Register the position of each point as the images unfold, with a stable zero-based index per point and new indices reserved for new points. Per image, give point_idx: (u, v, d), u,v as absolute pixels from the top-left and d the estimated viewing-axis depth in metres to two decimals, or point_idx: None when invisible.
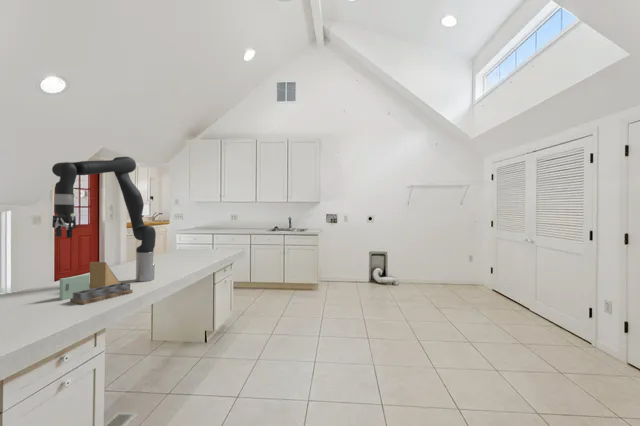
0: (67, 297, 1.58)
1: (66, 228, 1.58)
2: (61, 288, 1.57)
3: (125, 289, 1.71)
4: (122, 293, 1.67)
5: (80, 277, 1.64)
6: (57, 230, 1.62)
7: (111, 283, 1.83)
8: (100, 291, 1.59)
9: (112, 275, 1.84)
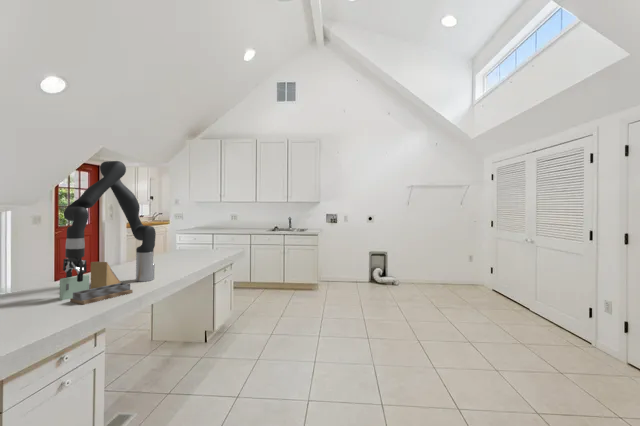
0: (67, 297, 1.58)
1: (77, 272, 1.60)
2: (61, 288, 1.57)
3: (125, 289, 1.71)
4: (122, 293, 1.67)
5: None
6: (68, 273, 1.63)
7: (112, 283, 1.83)
8: (100, 291, 1.59)
9: (113, 275, 1.84)
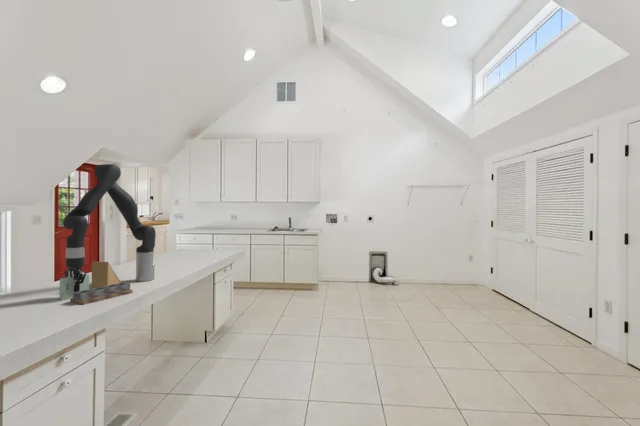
0: (67, 297, 1.58)
1: (74, 282, 1.61)
2: (61, 288, 1.57)
3: (125, 289, 1.71)
4: (122, 293, 1.67)
5: None
6: None
7: (113, 283, 1.84)
8: (100, 291, 1.59)
9: (114, 275, 1.85)
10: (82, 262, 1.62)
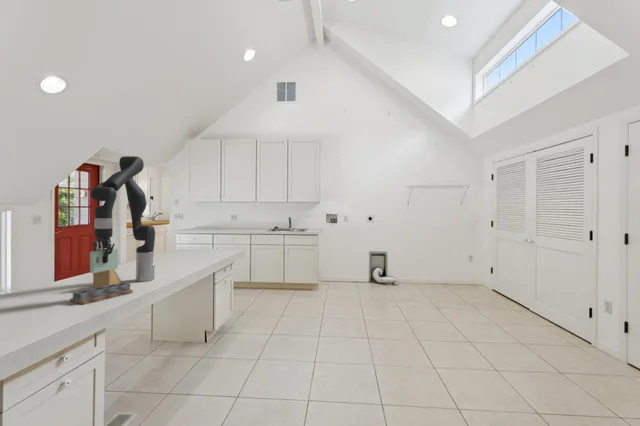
0: (97, 270, 1.60)
1: (102, 253, 1.62)
2: (91, 261, 1.58)
3: (125, 289, 1.71)
4: (122, 293, 1.67)
5: None
6: None
7: (114, 282, 1.85)
8: (100, 291, 1.59)
9: (115, 274, 1.86)
10: (110, 233, 1.63)
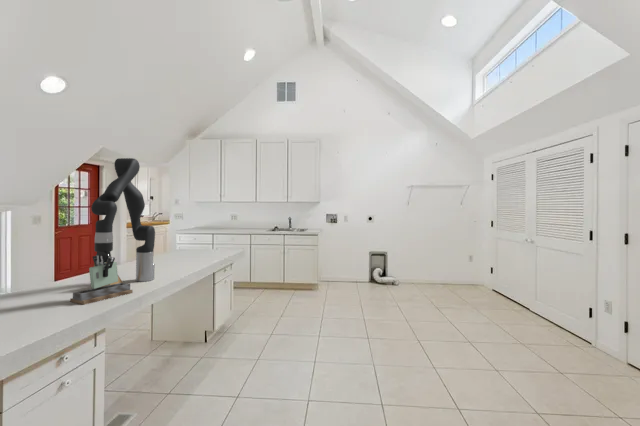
0: (98, 285, 1.60)
1: None
2: (91, 277, 1.58)
3: (125, 289, 1.71)
4: (122, 293, 1.67)
5: None
6: None
7: (115, 282, 1.85)
8: (100, 291, 1.59)
9: None
10: (111, 247, 1.63)
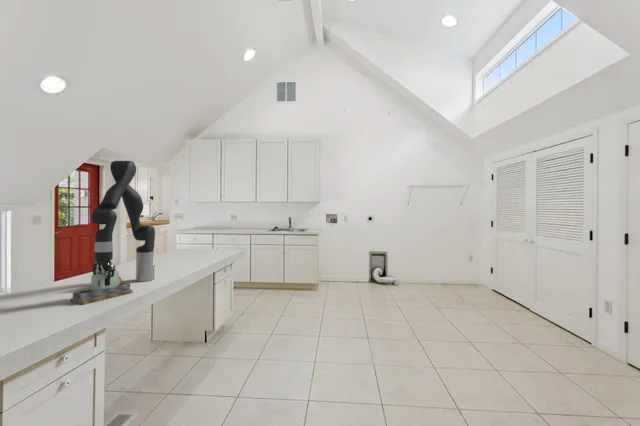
0: None
1: None
2: (93, 284, 1.59)
3: (125, 289, 1.71)
4: (122, 293, 1.67)
5: None
6: None
7: None
8: (100, 291, 1.59)
9: None
10: (111, 256, 1.63)
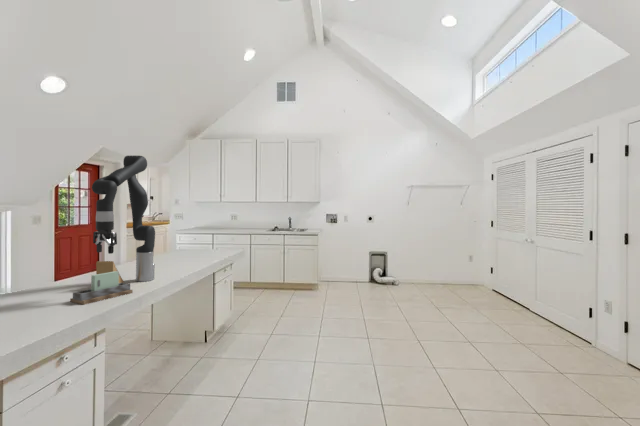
0: None
1: (108, 244, 1.64)
2: (93, 284, 1.59)
3: (125, 289, 1.71)
4: (122, 293, 1.67)
5: (110, 274, 1.65)
6: (98, 246, 1.67)
7: None
8: (100, 291, 1.59)
9: None
10: (112, 226, 1.66)
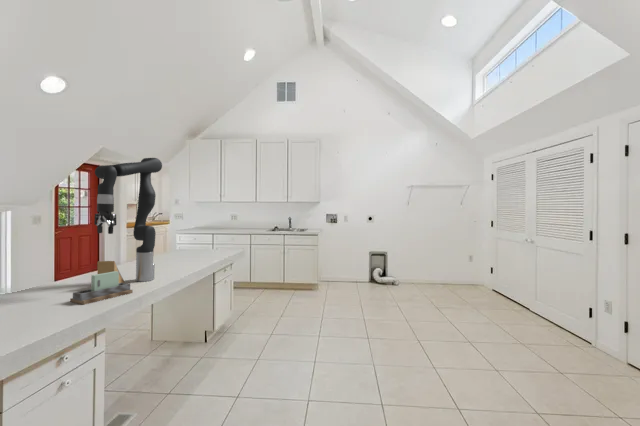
0: None
1: (108, 225, 1.75)
2: (93, 284, 1.59)
3: (125, 289, 1.71)
4: (122, 293, 1.67)
5: (110, 274, 1.65)
6: (99, 227, 1.79)
7: None
8: (100, 291, 1.59)
9: None
10: (112, 208, 1.77)
